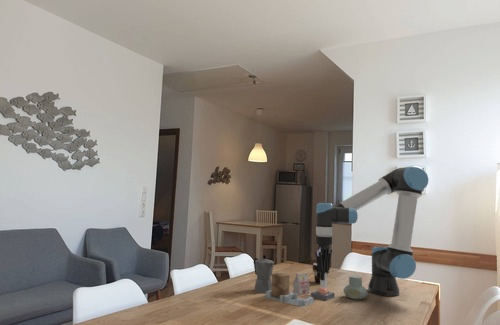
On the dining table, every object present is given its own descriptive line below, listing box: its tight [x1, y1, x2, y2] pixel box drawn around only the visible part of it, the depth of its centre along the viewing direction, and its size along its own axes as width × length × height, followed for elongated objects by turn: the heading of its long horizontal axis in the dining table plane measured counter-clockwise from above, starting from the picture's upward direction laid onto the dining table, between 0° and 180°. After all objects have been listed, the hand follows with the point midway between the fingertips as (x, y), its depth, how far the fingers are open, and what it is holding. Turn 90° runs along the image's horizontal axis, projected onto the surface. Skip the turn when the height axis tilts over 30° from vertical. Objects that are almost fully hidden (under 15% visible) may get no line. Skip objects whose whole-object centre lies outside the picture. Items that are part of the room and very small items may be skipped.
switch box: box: [310, 289, 336, 301], centre depth 170 cm, size 8×8×3 cm
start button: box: [318, 287, 328, 294], centre depth 170 cm, size 4×4×4 cm
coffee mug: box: [312, 262, 329, 285], centre depth 206 cm, size 12×9×10 cm
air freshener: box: [343, 275, 368, 301], centre depth 175 cm, size 11×8×10 cm
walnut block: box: [271, 272, 290, 298], centre depth 167 cm, size 7×4×10 cm, turn 52°
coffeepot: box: [253, 254, 275, 294], centre depth 179 cm, size 15×9×18 cm, turn 33°
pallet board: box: [263, 290, 317, 308], centre depth 164 cm, size 21×12×3 cm, turn 52°
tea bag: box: [292, 273, 310, 296], centre depth 176 cm, size 4×7×10 cm, turn 125°
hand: (323, 287), depth 170 cm, fingers closed
